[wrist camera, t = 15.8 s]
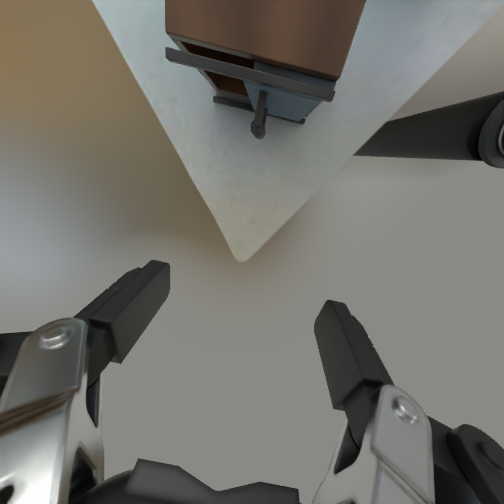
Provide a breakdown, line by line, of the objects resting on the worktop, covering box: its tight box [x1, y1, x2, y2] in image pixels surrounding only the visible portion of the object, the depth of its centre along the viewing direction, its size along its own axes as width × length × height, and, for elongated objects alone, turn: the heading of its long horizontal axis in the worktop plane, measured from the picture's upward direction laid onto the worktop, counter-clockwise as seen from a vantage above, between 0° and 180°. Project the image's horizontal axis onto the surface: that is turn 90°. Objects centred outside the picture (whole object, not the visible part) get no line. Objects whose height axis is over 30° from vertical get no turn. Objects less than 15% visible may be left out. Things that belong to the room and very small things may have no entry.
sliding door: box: [243, 80, 319, 139], centre depth 24 cm, size 7×4×13 cm, turn 78°
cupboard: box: [165, 0, 366, 124], centre depth 20 cm, size 15×12×16 cm
